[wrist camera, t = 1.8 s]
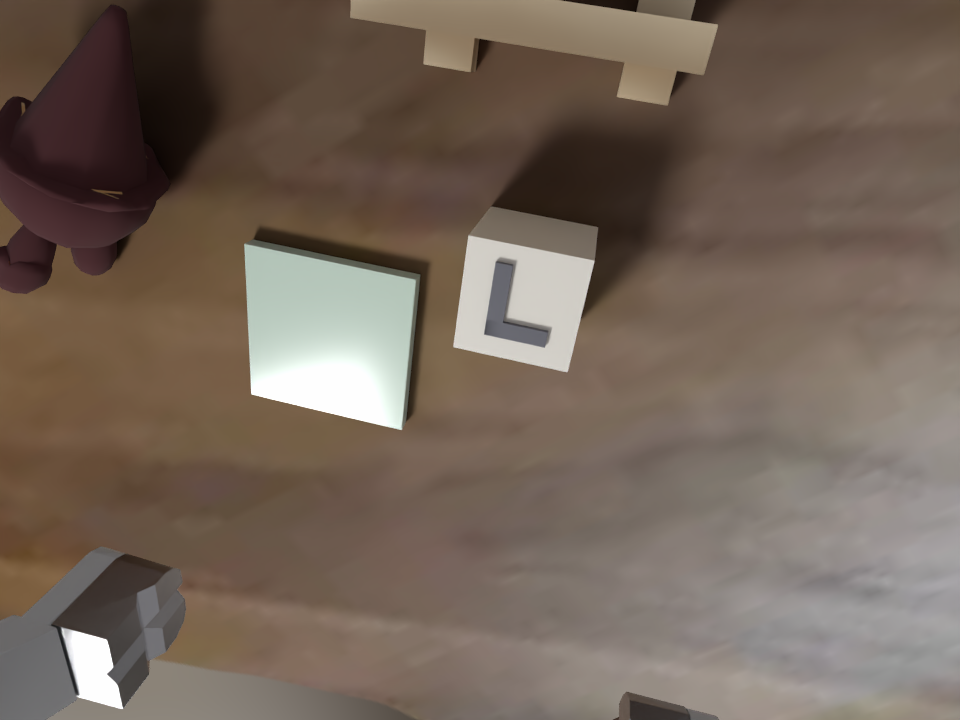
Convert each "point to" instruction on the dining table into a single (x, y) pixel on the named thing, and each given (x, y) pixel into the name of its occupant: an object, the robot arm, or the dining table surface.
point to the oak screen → (561, 34)
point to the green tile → (330, 332)
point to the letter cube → (525, 287)
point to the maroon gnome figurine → (77, 161)
